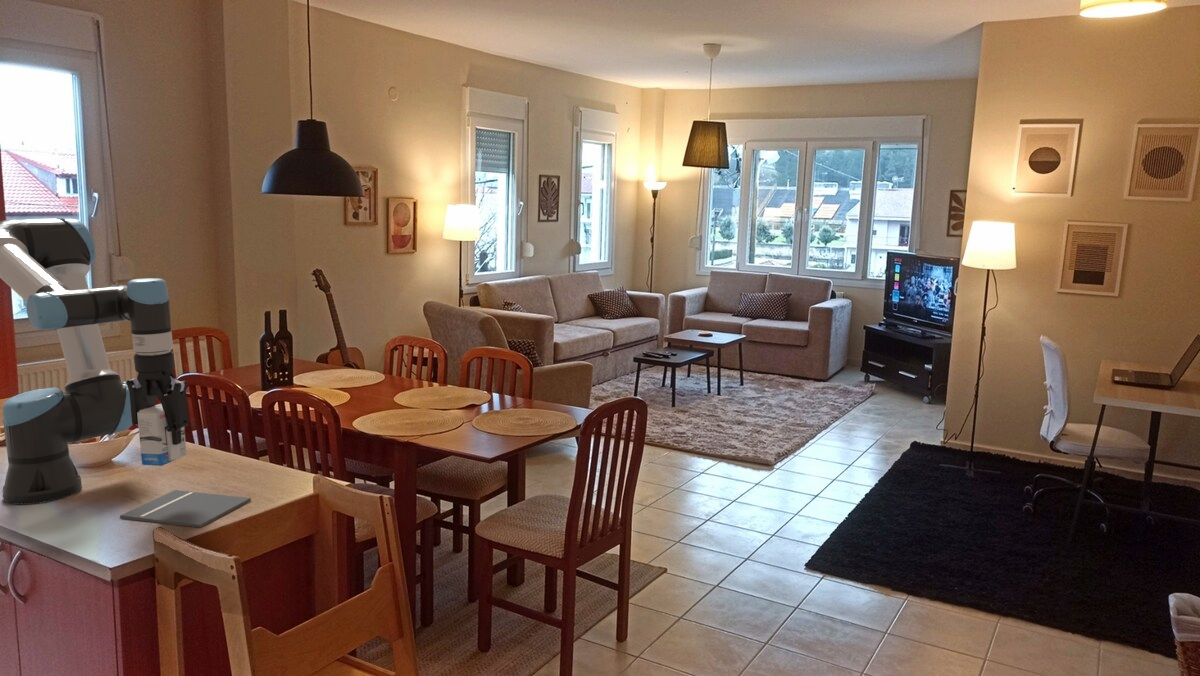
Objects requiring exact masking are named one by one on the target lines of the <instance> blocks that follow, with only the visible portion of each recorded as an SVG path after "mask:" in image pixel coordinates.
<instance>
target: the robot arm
mask: <svg viewBox="0 0 1200 676" xmlns="http://www.w3.org/2000/svg"><path fill="white" fill-rule="evenodd" d="M95 249H96V245H95V241H94V238H93V236H92V234H91V232H90V231H89V229H88V228H87V226H86V225H85V224H84V222H81V221H80V220H78V219H75V218H62V217H55V218H33V219H32V218H29V219H25V218H24V219H17V218H16V219H5V220H0V279H1V280H2V281H3V282H4V283H5V284H6V285H8V287H10V288H11V289H12V290H13V291H14V292H15V294H17V295H18V296H19V297H20V298H21V299H23V300H24V301H25V303H26V306H25V307H26V315H27V318H28V320H29V321H30V325H31V326H32V327H33V328H34V329H36V330H39V331H40V330H41V331H42V330H53V331H55V330H56V332H57V335H58V339H59V342H60V346H61V350H62V353H63V358H64V361H65V364H66V369H67V372H68V373H67V374H68V376H69V378H68V380H67V382H66V383H65V385H64V391H65V392H63V391H62V389H61V388H58V387H45V388H37V389H33V390H29V391H25V392H22V393H19V394H16V395H14V396H12V397H10V398H9V399H7V400H5V401H4V403H3V404H2V409H1V410H2V420H1V423H2V425H3V430H4V438H5V445H6V446H5V448H6V454H7V461H8V464H7V465H8V467H7V472H6V476H5V480H4V485H3V487H2V490H1V491H2V500H3V501H4V502H5V503H8V504H13V505H31V504H40V503H47V502H52V501H57V500H60V499H62V498H67V497H70V496H71V495H74V494H77V492H79V491H80V490H81V489H82V488H83V485H82V478H81V477H82V476H81V475H80V474H79V472H78V470H77V468H76V465H75V464H74V462H73V460H72V458H71V456H70V450H69V444H70V443H73V442H80V441H84V440H87V439H94V438H98V437H103V436H107V435H108V436H112V435H114V434H116V433H120V432H124V431H126V430H129V429H130V428H131V427H132V426H133V425H134V426H138V417H137V412H139V410H142V409H146V408H149V407H153V406H155V405H156V401H157V400H158V401H159V402H160V404H162V407H163V411H164V412H165V417H166V420H167V423H168V426H169V429H167V431H166V436H167V446H168V457H169V460H170V461H172V460H174V461H176V460H178V459H177V458H179V459H181V458H182V457H181V452H180V443H181V442H182V438H181V428H182V427H184V428H186V427H187V426H189V424H190V422H189V412H188V404H187V403H188V402H187V394H186V393H187V392H186V391H187V387H188V382H187V381H186V380H182V381H180V380H178V379H176V377H175V375H174V369H175V355H174V352H173V351H172V350H173V349H174V342H173V333H172V322H171V310H170V294H169V291H168V285H167V281H166V280H164V279H163V278H154V277H153V278H150V277H147V278H145V277H144V278H135V279H134V278H133V279H130V280H129V281H128V282H127V284H114V285H110V286H108V287H107V286H106V287H97V288H89V286H88V281H87V278H86V276H87V275H88V273H89V272H90V271H91V266H90V265H92V264H93V263H94V261H95V259H96V251H95ZM117 322H118V323H119V322H130V328H131V329H130V331H131V340H132V350H133V352H135V354H134V355H133V362H134V370H135V371H136V372H137V376H136V377H135V378H131V379H128V380H126V381H122V379H121V376H120V374H119V373H118V372H115V371H114V370H112V369H111V367H110V363H109V359H108V355H107V351H106V348H105V345H104V340H103V337H102V333H101V330H100V327H99V326H100V325H101V324H109V323H117ZM156 399H157V400H156ZM174 423H175V424H174ZM180 457H181V458H180ZM175 459H176V460H175ZM172 462H173V461H172Z"/></svg>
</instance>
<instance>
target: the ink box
mask: <svg viewBox="0 0 1200 676" xmlns="http://www.w3.org/2000/svg"><path fill="white" fill-rule="evenodd" d="M137 417H138V425H137V426H138V434H139V435H138V436H139V446H140V457H141V465H142V466H159V467H162V466H164V465H167V464H170V463H172V462H173V461H174V462H175V461H176V460H178V459H181V458H183V457H185V456H187V446H186V445H187V443H186V432H185V427H182V428H181V438H182V442H181V443H180V452H181V457H180V458H177V459H175V460H172V461H170V460H169V457H168V446H167V436H166V431H167V429H169V426H168V423H167V420H166V417H165V412H164V411H163V407H162V404H161V403H158V404H155V406H153V407H149V408H146V409H142V410H139V412H137ZM174 424H175V423H174Z"/></svg>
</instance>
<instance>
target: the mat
mask: <svg viewBox="0 0 1200 676" xmlns="http://www.w3.org/2000/svg"><path fill="white" fill-rule="evenodd" d="M251 500H252V499H251V497H245V496H244V497H243V496H237V495H236V496H234V495H225V494H216V493H209V492H208V493H205V492H198V491H187V490H178V489H174V490H172V491H170V492H168V493H165V494H163V495H161V496H159V497H158V498H155V499H153V500H150V501H149V502H146V503H143V504H141V505H140V506H138V507H136V508H133V509H131V510H129V511H126V512H125V513H121V514H120V515H119V519H124V520H134V521H141V522H142V521H143V522H149V523H160V524H167V525H175V526H183V527H192V528H202V527H204V526H206V525H207V524H210V523H211V522H213V521H215V520H217V519H219V518H221V517H222V516H224V515H227V514H228V513H230V512H232V511H234V510H236V509H237V508H240V507H242V506H244V505H245V504H247V503H248V502H251Z"/></svg>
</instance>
